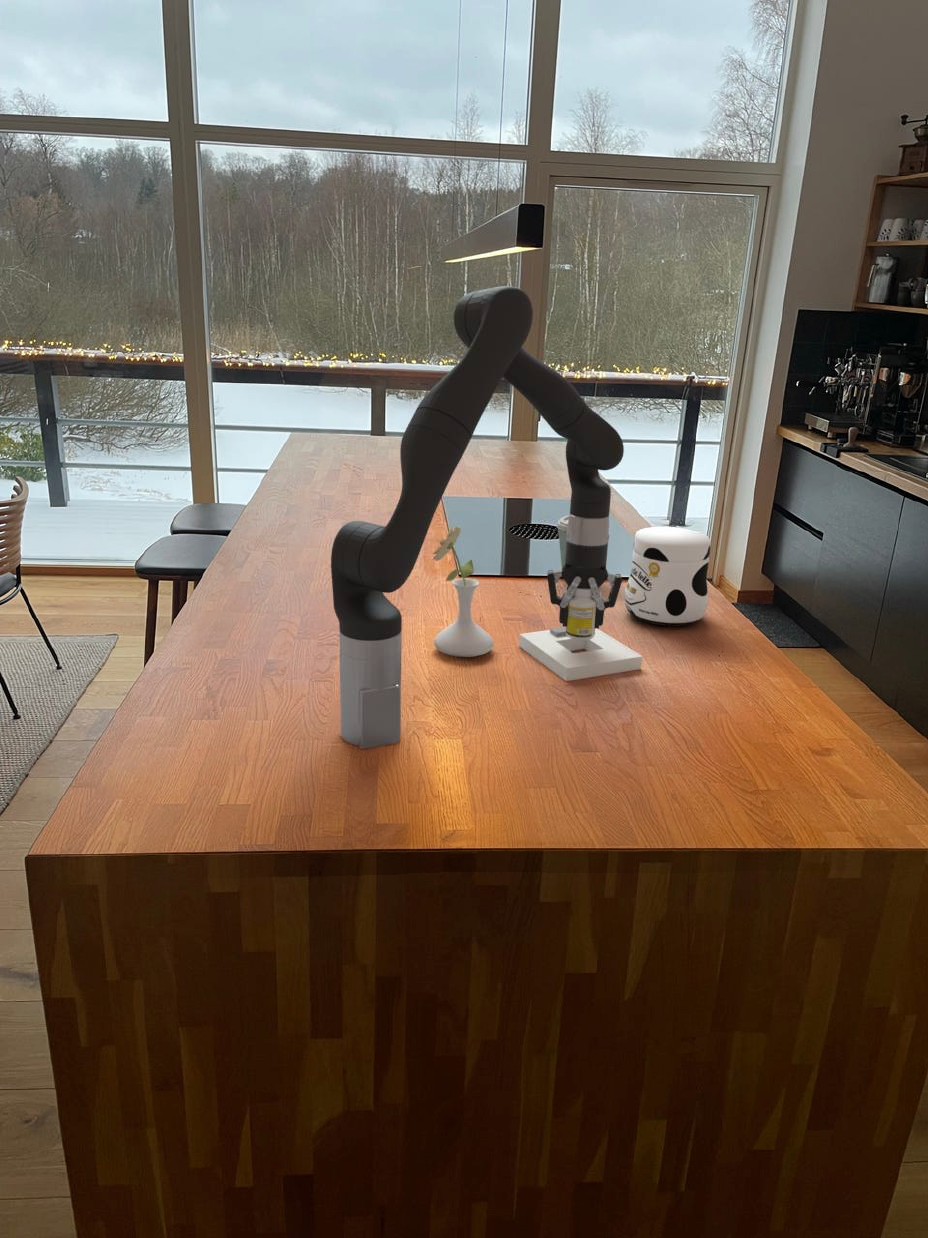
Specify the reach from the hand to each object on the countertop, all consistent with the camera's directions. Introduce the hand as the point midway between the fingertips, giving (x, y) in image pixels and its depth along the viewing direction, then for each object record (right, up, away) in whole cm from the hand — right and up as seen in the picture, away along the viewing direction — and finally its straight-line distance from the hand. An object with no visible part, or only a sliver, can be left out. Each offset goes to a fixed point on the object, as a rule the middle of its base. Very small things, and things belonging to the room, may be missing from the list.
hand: (580, 625), depth 177 cm
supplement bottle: (0, -2, +1) cm, 2 cm away
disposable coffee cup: (+5, +11, +49) cm, 50 cm away
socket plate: (0, -6, +2) cm, 6 cm away
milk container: (+21, +1, +25) cm, 33 cm away
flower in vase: (-22, -5, +3) cm, 23 cm away
